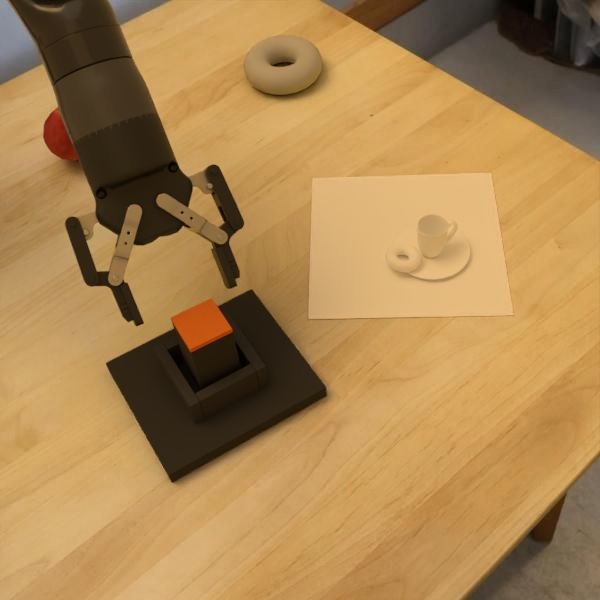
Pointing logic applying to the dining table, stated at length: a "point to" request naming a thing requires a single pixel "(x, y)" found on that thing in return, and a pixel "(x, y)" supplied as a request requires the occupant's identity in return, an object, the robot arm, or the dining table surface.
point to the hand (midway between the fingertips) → (186, 305)
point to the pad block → (206, 343)
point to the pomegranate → (58, 137)
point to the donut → (283, 77)
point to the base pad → (215, 389)
